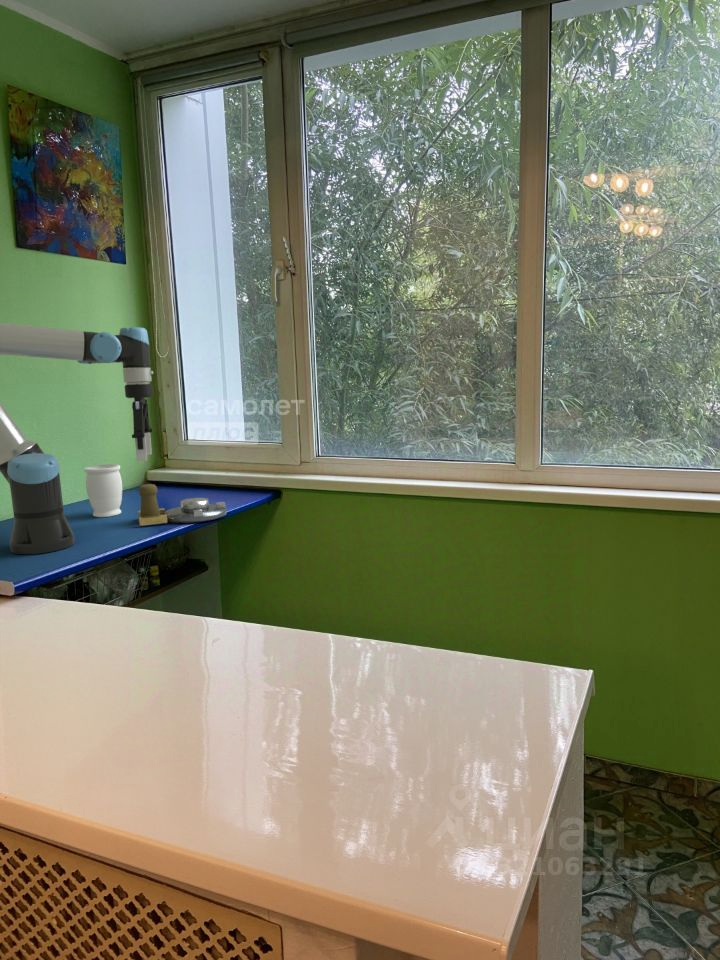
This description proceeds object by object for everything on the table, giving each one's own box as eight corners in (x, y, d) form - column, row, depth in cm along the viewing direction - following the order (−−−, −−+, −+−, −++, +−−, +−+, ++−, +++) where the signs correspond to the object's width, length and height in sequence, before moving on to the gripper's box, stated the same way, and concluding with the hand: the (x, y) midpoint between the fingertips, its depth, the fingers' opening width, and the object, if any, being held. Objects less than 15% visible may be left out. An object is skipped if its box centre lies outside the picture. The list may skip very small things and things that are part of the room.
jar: (117, 517, 212) (112, 468, 209) (83, 519, 212) (78, 469, 209) (129, 510, 222) (125, 463, 220) (97, 511, 222) (92, 464, 220)
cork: (139, 524, 201) (136, 487, 199) (140, 520, 207) (136, 483, 205) (161, 522, 203) (158, 485, 201) (161, 518, 209) (158, 481, 207)
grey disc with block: (222, 506, 219) (221, 492, 219) (230, 518, 203) (229, 502, 202) (138, 515, 212) (136, 500, 211) (140, 528, 195) (138, 512, 194)
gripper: (147, 384, 188) (154, 462, 191) (155, 381, 212) (161, 451, 215) (118, 385, 186) (125, 464, 190) (129, 382, 210) (136, 453, 214)
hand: (144, 457), depth 203 cm, fingers open, 13 cm apart
